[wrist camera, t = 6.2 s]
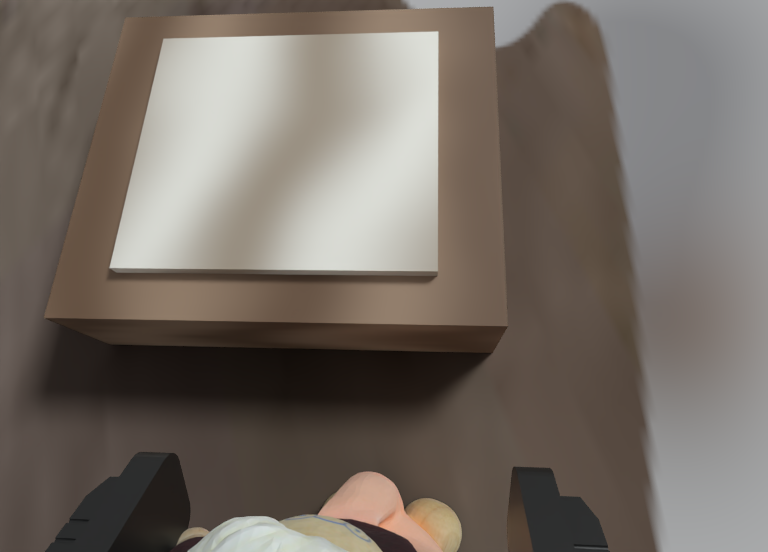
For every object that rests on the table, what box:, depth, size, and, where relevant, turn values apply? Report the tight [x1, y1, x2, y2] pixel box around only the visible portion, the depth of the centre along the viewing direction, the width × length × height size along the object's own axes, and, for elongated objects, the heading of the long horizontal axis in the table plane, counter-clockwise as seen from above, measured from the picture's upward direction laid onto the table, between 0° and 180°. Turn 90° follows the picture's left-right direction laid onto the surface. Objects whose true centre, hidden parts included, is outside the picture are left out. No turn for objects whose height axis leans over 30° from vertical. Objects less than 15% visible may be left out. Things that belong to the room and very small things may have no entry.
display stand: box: [44, 7, 508, 353], centre depth 19 cm, size 14×12×4 cm
